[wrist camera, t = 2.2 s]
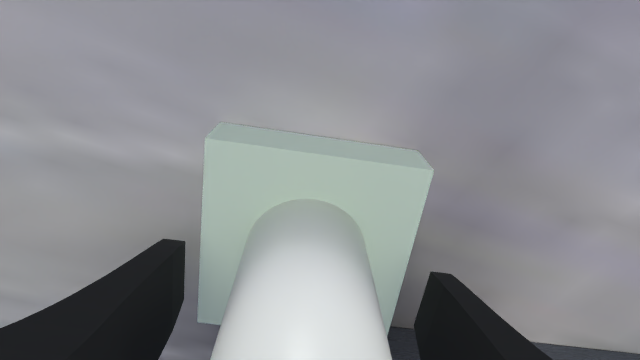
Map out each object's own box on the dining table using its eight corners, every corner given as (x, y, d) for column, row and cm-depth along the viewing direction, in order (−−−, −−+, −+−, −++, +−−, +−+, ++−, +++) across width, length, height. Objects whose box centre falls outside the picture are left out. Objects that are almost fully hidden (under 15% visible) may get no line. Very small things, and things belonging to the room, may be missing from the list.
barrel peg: (241, 293, 14) (174, 543, 7) (251, 190, 12) (178, 387, 6) (353, 306, 14) (388, 558, 7) (376, 207, 12) (446, 411, 6)
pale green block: (210, 287, 16) (197, 322, 14) (220, 122, 13) (204, 138, 11) (377, 306, 16) (385, 342, 14) (417, 150, 14) (433, 170, 12)
